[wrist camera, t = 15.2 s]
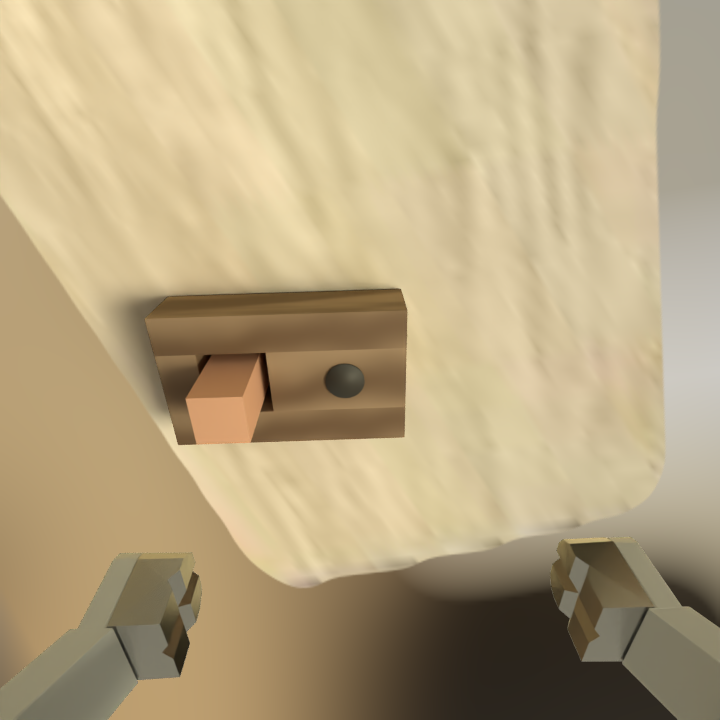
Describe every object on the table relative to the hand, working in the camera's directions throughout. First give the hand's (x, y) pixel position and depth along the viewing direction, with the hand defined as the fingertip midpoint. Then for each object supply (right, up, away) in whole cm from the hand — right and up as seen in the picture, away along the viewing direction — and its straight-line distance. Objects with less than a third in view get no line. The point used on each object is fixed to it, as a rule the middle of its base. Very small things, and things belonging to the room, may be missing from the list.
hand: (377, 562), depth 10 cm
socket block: (-7, +5, +32) cm, 33 cm away
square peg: (-11, +5, +31) cm, 33 cm away
